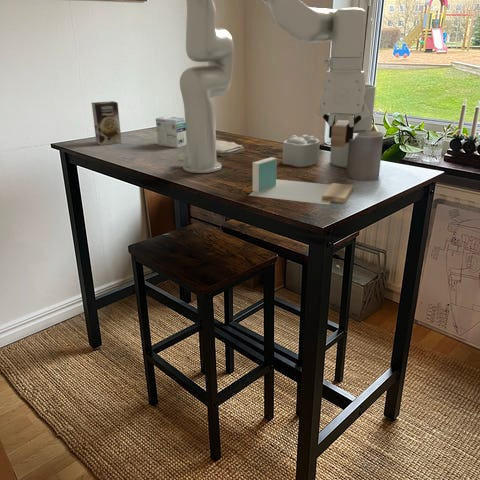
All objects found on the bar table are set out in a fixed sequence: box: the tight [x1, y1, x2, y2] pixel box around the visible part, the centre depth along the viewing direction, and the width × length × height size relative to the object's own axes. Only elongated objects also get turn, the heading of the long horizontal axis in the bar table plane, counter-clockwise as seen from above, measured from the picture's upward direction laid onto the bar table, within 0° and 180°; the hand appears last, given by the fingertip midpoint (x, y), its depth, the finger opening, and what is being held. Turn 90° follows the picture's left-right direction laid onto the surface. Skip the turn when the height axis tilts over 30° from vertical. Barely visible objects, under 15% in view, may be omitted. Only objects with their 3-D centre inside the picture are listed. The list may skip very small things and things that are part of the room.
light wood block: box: [330, 120, 358, 147], centre depth 123 cm, size 14×6×5 cm, turn 158°
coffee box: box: [91, 101, 123, 146], centre depth 192 cm, size 9×6×16 cm
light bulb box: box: [155, 115, 187, 148], centre depth 188 cm, size 11×7×11 cm, turn 58°
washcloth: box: [216, 139, 245, 157], centre depth 180 cm, size 12×18×3 cm, turn 49°
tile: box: [252, 156, 278, 192], centre depth 133 cm, size 2×8×8 cm, turn 138°
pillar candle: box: [345, 129, 385, 182], centre depth 141 cm, size 10×10×15 cm
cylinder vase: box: [329, 84, 377, 169], centre depth 155 cm, size 12×12×25 cm
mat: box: [248, 178, 332, 206], centre depth 132 cm, size 22×17×1 cm
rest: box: [322, 182, 354, 203], centre depth 128 cm, size 6×12×2 cm, turn 158°
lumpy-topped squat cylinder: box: [282, 134, 320, 168], centre depth 162 cm, size 10×13×9 cm
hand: (340, 140), depth 122 cm, fingers closed on light wood block, 3 cm apart
